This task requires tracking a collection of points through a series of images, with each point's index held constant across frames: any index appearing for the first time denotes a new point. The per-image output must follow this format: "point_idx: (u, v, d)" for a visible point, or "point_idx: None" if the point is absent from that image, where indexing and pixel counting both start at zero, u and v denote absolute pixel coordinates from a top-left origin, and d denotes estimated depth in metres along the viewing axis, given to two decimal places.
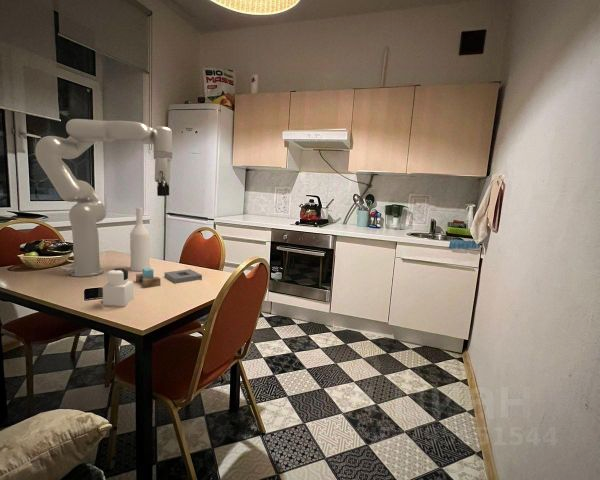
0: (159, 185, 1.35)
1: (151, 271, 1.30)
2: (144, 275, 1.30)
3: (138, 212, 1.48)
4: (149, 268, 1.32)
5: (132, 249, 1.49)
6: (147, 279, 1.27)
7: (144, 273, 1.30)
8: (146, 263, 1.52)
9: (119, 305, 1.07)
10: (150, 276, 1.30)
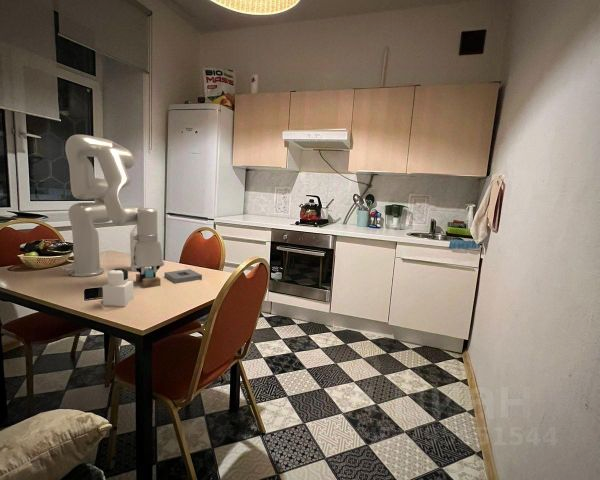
0: None
1: (151, 271, 1.30)
2: None
3: None
4: (149, 268, 1.32)
5: (132, 249, 1.49)
6: (147, 279, 1.27)
7: None
8: None
9: (119, 305, 1.07)
10: (150, 276, 1.30)
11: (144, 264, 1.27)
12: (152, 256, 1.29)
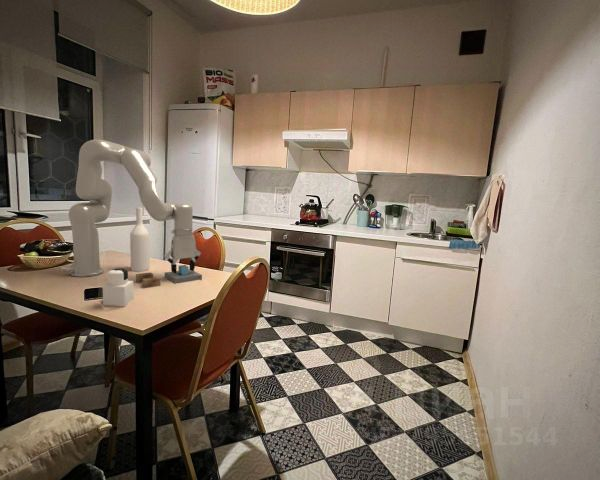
0: None
1: (186, 268, 1.40)
2: (180, 271, 1.40)
3: (138, 212, 1.48)
4: (184, 265, 1.43)
5: (132, 249, 1.49)
6: (147, 279, 1.27)
7: (180, 269, 1.41)
8: (146, 263, 1.52)
9: (119, 305, 1.07)
10: (185, 272, 1.41)
11: (181, 256, 1.37)
12: (188, 249, 1.39)
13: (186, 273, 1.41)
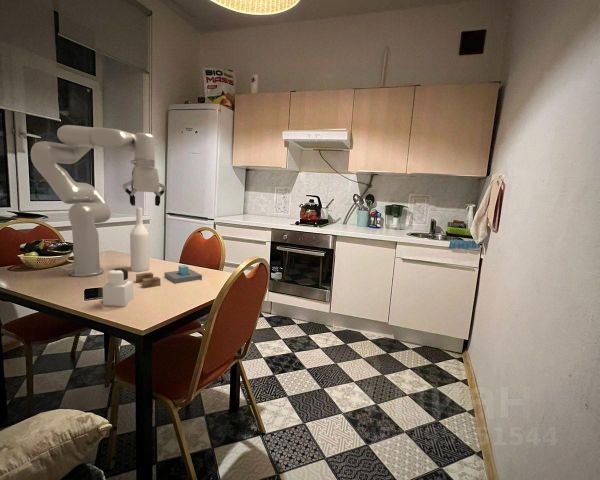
0: None
1: (186, 268, 1.40)
2: (180, 271, 1.40)
3: (138, 212, 1.48)
4: (184, 265, 1.43)
5: (132, 249, 1.49)
6: (147, 279, 1.27)
7: (180, 269, 1.41)
8: (146, 263, 1.52)
9: (119, 305, 1.07)
10: (185, 272, 1.41)
11: (141, 188, 1.29)
12: (149, 181, 1.31)
13: (186, 273, 1.41)
